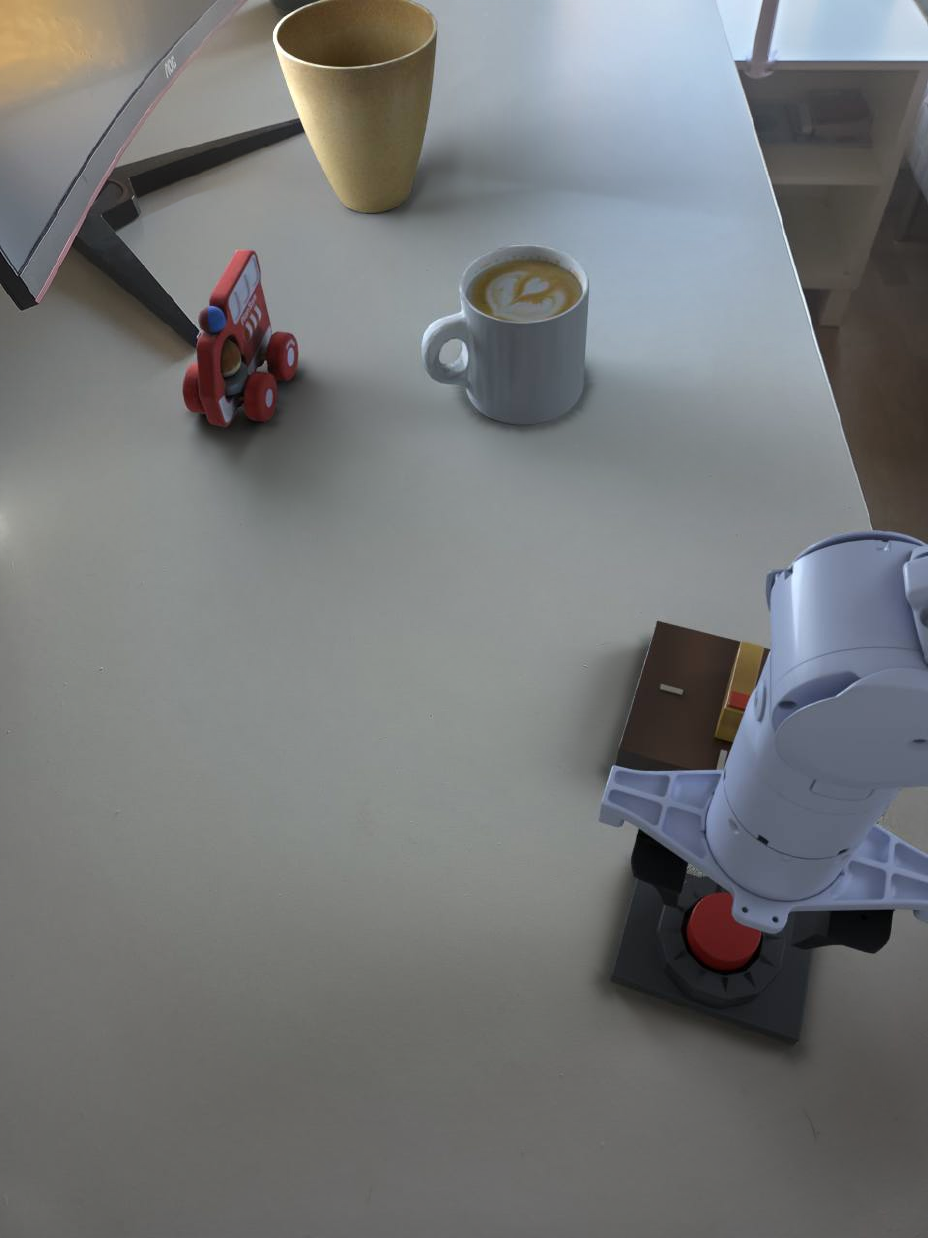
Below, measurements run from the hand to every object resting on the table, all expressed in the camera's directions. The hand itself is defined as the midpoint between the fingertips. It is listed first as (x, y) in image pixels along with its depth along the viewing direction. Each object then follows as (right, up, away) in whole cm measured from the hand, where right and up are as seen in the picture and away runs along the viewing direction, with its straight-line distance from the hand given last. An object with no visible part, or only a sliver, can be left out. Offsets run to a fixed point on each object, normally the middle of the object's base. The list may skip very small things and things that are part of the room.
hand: (735, 907), depth 48 cm
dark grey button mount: (0, -4, +6) cm, 7 cm away
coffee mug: (-10, +34, +34) cm, 49 cm away
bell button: (0, -3, +4) cm, 5 cm away
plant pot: (-23, +58, +52) cm, 82 cm away
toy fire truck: (-32, +34, +35) cm, 58 cm away
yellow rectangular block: (+3, +9, +11) cm, 15 cm away
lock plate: (+3, +7, +14) cm, 16 cm away
